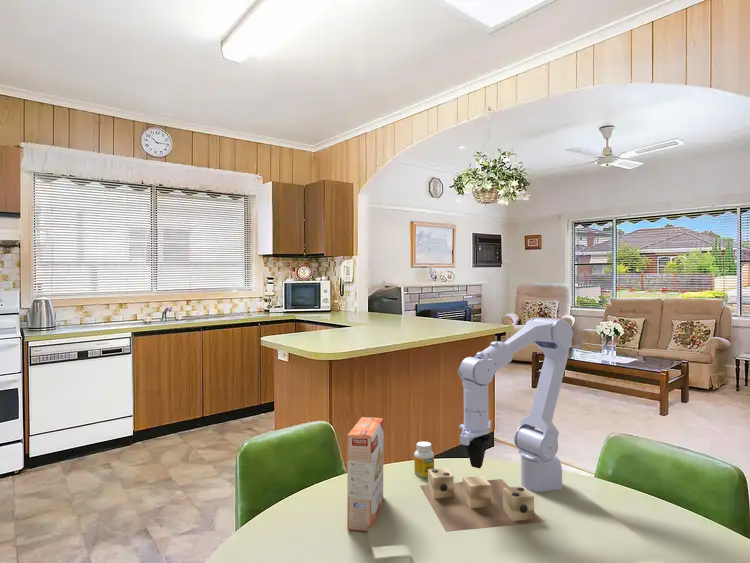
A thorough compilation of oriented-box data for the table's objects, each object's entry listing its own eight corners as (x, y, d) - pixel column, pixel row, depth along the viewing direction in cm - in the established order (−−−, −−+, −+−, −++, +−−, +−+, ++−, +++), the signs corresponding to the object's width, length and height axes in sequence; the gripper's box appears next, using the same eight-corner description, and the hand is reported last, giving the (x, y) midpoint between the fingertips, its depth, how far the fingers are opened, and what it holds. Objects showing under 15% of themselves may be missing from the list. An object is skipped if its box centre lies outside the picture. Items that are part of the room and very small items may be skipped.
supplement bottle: (423, 473, 131) (422, 438, 131) (438, 479, 127) (438, 443, 127) (410, 479, 127) (410, 443, 127) (425, 485, 124) (425, 448, 123)
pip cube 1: (447, 487, 118) (447, 467, 118) (453, 497, 113) (453, 476, 113) (428, 489, 118) (428, 469, 118) (433, 498, 113) (433, 477, 113)
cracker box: (373, 533, 100) (372, 436, 100) (346, 531, 102) (345, 434, 101) (385, 502, 114) (384, 416, 114) (361, 500, 115) (360, 415, 115)
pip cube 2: (523, 508, 108) (523, 485, 108) (534, 519, 103) (534, 495, 103) (503, 509, 107) (502, 487, 107) (512, 521, 102) (512, 497, 102)
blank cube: (483, 496, 114) (482, 475, 114) (491, 506, 109) (491, 484, 109) (463, 498, 113) (462, 477, 113) (470, 508, 108) (470, 486, 108)
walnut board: (501, 484, 123) (501, 479, 123) (544, 528, 102) (544, 521, 102) (419, 491, 120) (419, 485, 120) (445, 538, 98) (445, 531, 98)
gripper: (472, 399, 119) (472, 453, 119) (447, 413, 107) (447, 473, 107) (499, 403, 115) (499, 459, 115) (476, 418, 103) (477, 480, 103)
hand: (476, 466), depth 111 cm, fingers closed
